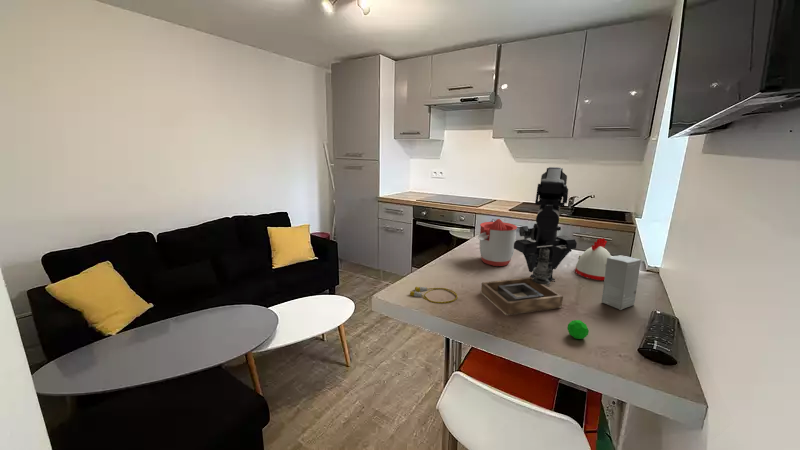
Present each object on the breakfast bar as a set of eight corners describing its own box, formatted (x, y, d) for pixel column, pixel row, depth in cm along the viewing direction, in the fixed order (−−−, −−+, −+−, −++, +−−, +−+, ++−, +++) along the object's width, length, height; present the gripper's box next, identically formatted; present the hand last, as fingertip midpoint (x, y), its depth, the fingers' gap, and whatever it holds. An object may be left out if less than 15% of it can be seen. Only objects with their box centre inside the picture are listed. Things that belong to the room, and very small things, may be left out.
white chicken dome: (622, 277, 128) (628, 241, 125) (600, 283, 122) (606, 245, 119) (589, 265, 140) (594, 232, 137) (567, 270, 134) (572, 236, 131)
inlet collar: (523, 290, 114) (524, 282, 114) (543, 304, 105) (544, 295, 104) (497, 293, 112) (498, 285, 111) (515, 307, 102) (515, 299, 101)
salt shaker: (527, 278, 103) (530, 243, 100) (542, 276, 105) (546, 241, 102) (539, 286, 98) (544, 248, 95) (555, 283, 100) (560, 246, 97)
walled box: (530, 287, 118) (531, 277, 117) (561, 307, 103) (563, 296, 102) (481, 293, 113) (481, 282, 112) (506, 315, 98) (507, 303, 97)
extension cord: (425, 284, 122) (426, 279, 121) (463, 296, 112) (463, 291, 112) (406, 296, 112) (406, 290, 112) (445, 309, 103) (445, 304, 102)
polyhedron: (562, 333, 89) (564, 318, 88) (576, 331, 90) (578, 315, 89) (576, 344, 84) (579, 327, 83) (591, 340, 86) (594, 324, 84)
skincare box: (620, 311, 101) (629, 263, 98) (598, 301, 107) (605, 256, 104) (635, 305, 105) (644, 259, 101) (613, 296, 111) (620, 253, 107)
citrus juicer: (467, 259, 147) (469, 217, 143) (497, 254, 154) (500, 214, 150) (490, 271, 133) (493, 224, 129) (521, 265, 141) (526, 220, 136)
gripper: (554, 214, 107) (549, 258, 110) (505, 218, 102) (501, 264, 106) (581, 222, 96) (574, 270, 100) (527, 226, 91) (522, 277, 95)
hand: (542, 270), depth 101 cm, fingers closed on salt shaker, 8 cm apart
